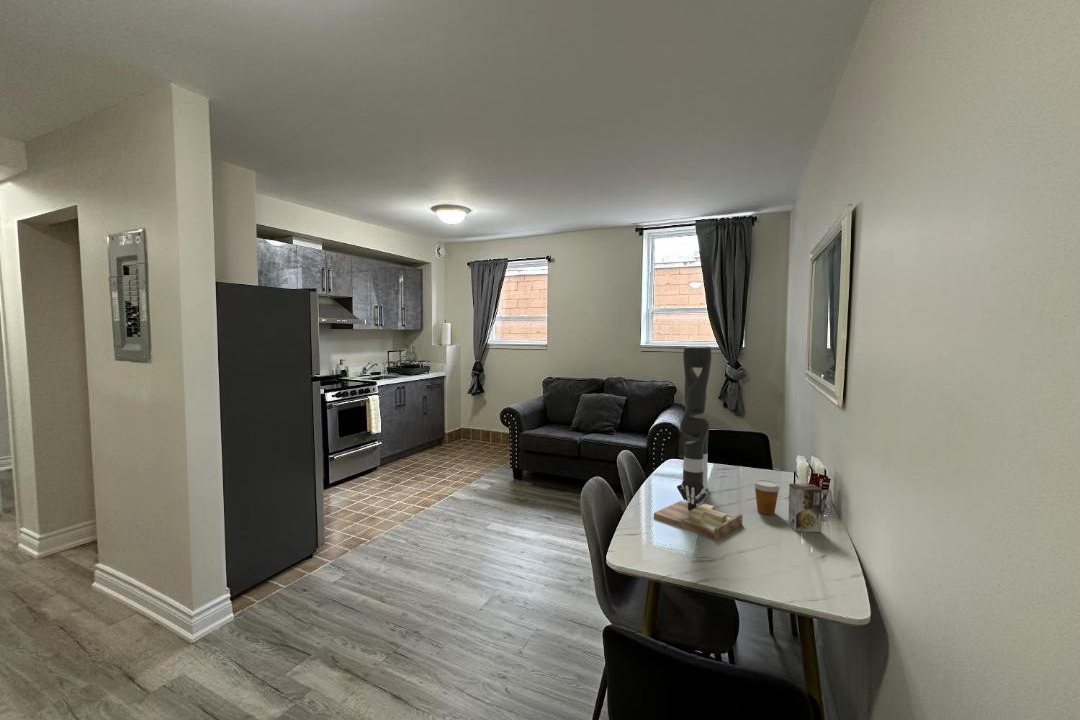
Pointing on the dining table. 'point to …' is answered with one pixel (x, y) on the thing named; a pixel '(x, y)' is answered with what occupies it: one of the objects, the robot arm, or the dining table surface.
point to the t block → (707, 515)
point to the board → (680, 518)
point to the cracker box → (805, 507)
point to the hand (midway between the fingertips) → (691, 512)
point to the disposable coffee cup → (766, 496)
